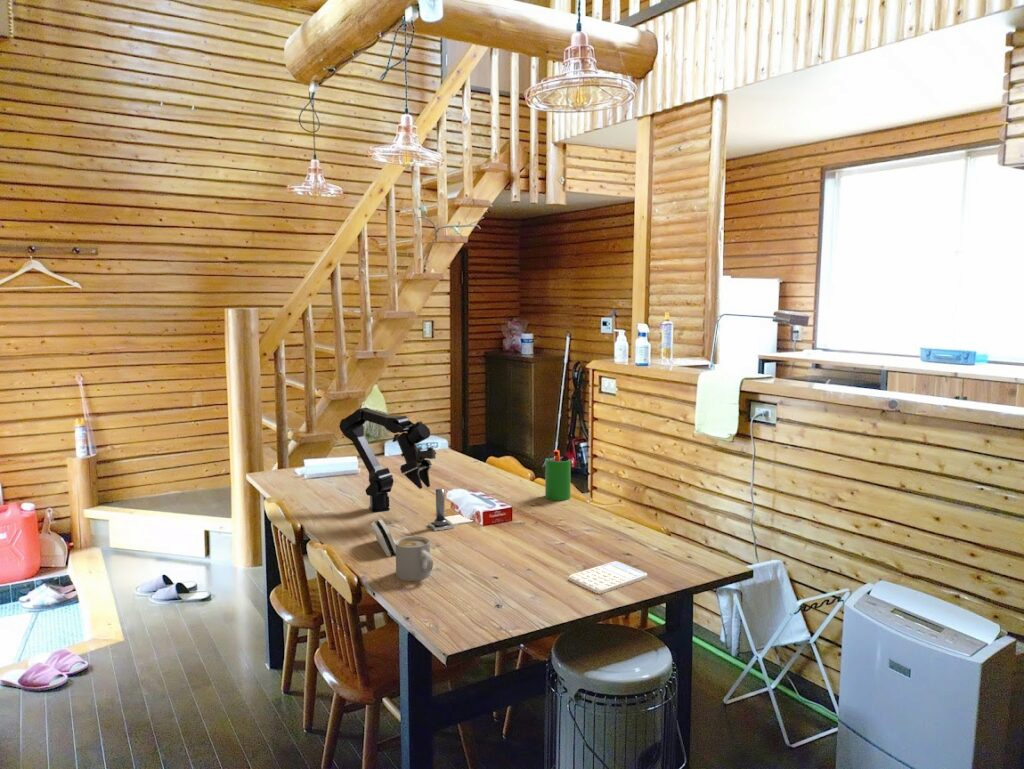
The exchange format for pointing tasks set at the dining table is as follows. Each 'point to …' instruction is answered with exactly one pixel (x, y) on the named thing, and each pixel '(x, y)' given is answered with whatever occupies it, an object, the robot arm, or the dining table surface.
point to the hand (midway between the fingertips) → (425, 487)
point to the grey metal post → (440, 509)
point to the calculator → (607, 577)
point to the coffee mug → (413, 558)
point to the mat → (457, 519)
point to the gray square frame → (431, 525)
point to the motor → (557, 478)
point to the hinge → (384, 537)
